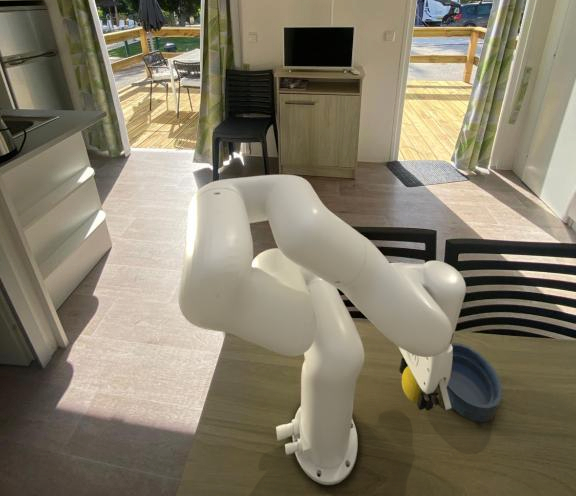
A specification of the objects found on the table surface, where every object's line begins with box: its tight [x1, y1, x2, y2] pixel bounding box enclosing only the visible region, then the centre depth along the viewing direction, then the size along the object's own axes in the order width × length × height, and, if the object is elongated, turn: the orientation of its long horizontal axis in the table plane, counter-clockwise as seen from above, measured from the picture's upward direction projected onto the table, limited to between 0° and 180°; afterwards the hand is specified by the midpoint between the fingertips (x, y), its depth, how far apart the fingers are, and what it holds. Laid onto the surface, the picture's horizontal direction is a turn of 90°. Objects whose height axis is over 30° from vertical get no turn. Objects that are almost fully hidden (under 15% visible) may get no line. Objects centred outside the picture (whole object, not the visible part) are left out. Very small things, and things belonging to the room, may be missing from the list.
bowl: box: [446, 342, 503, 423], centre depth 65 cm, size 12×12×5 cm
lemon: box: [401, 366, 423, 405], centre depth 61 cm, size 6×6×8 cm
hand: (415, 387), depth 61 cm, fingers closed on lemon, 5 cm apart
